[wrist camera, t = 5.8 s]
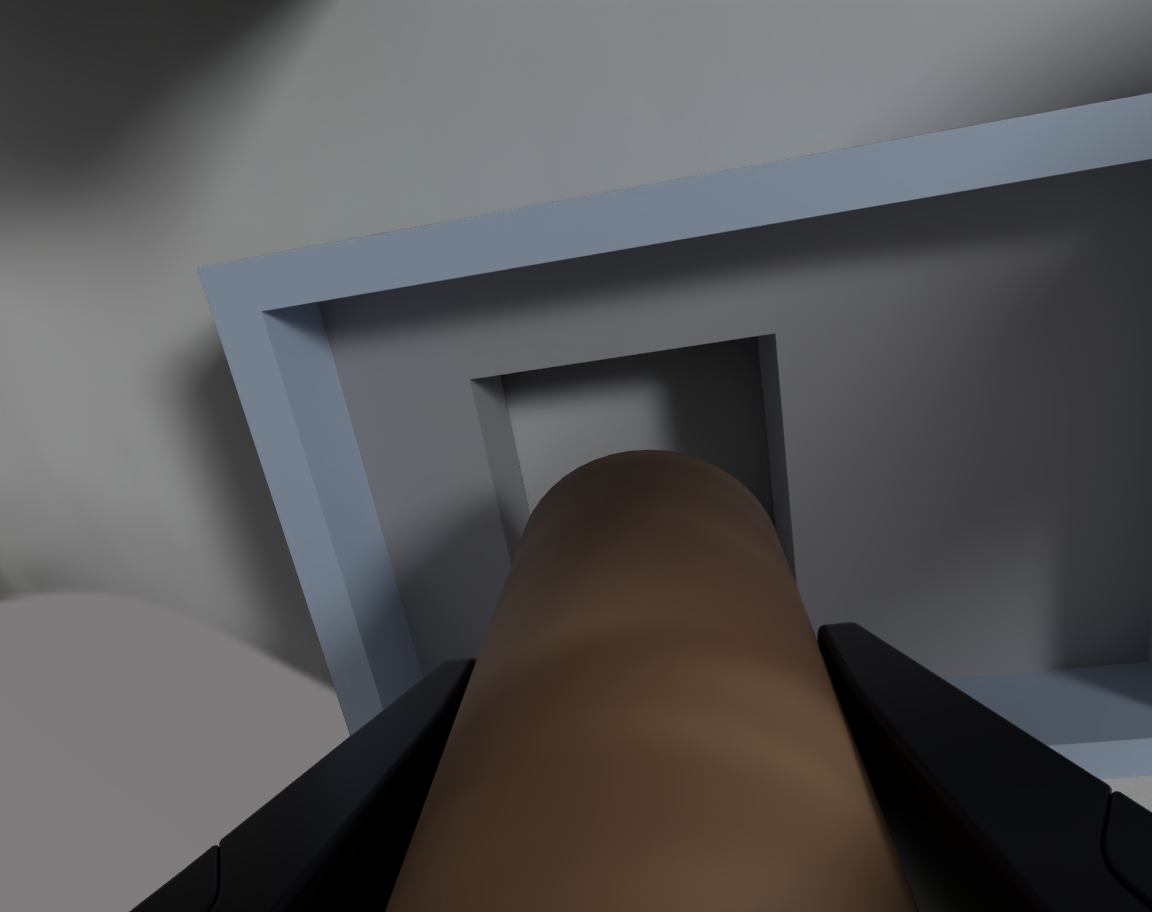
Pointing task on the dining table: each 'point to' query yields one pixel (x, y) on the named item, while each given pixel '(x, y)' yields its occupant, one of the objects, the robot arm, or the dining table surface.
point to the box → (790, 394)
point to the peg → (651, 721)
